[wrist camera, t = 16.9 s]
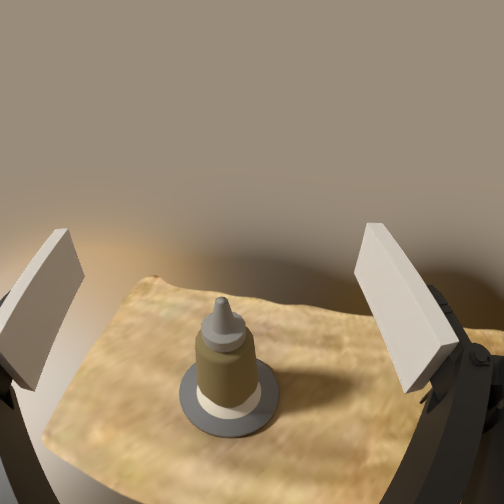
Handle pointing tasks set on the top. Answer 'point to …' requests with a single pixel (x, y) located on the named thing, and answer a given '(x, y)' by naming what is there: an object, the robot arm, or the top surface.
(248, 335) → the squeeze bottle
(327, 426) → the top surface
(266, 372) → the coaster
